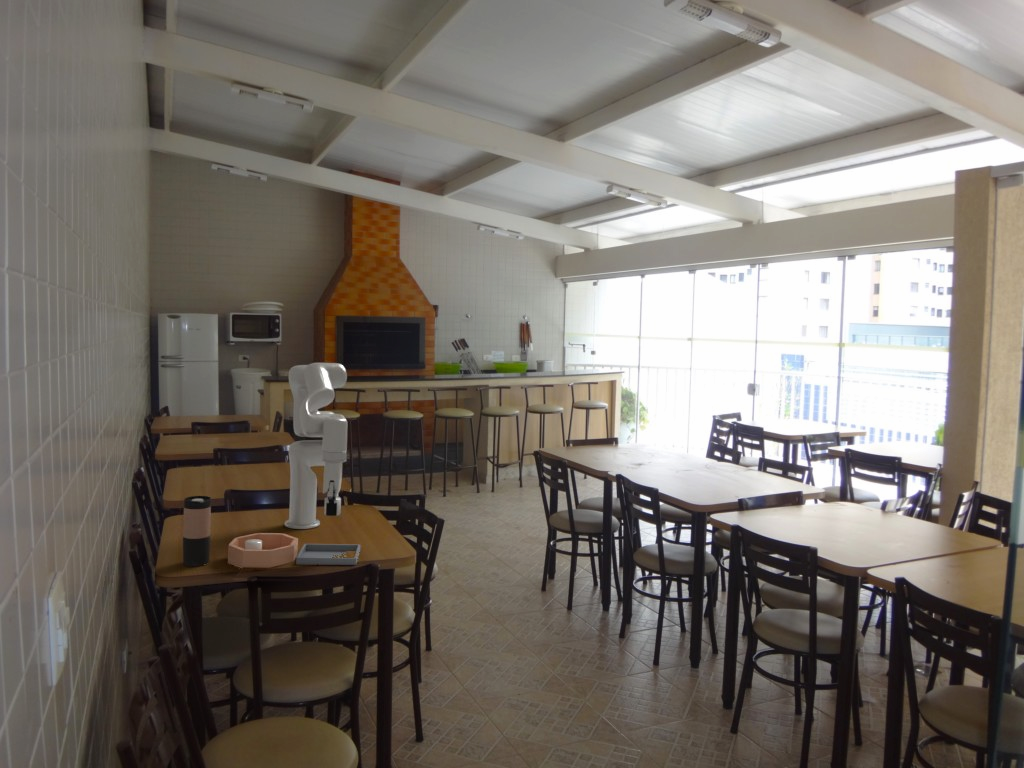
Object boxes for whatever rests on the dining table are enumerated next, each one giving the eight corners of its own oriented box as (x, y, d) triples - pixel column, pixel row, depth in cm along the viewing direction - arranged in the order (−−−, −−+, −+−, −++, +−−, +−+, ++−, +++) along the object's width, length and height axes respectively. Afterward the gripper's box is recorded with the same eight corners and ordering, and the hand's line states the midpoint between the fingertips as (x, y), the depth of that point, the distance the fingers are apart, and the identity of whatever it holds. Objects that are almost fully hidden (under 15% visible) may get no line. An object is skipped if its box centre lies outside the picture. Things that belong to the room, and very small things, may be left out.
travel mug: (187, 559, 222) (189, 495, 221) (213, 559, 223) (214, 496, 222) (178, 566, 215) (179, 500, 214) (204, 567, 215) (206, 501, 214)
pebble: (325, 511, 230) (325, 496, 230) (341, 512, 231) (341, 496, 230) (323, 515, 225) (323, 500, 225) (339, 516, 226) (340, 500, 225)
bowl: (239, 550, 234) (239, 532, 233) (300, 551, 236) (301, 533, 236) (222, 569, 214) (223, 550, 214) (289, 570, 217) (290, 551, 216)
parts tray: (304, 552, 235) (304, 543, 235) (360, 552, 237) (360, 544, 237) (296, 566, 220) (296, 557, 220) (355, 567, 222) (356, 558, 222)
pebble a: (246, 554, 227) (247, 539, 227) (263, 554, 228) (263, 539, 227) (242, 559, 222) (243, 543, 222) (259, 559, 223) (260, 543, 222)
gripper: (325, 451, 234) (323, 506, 236) (318, 460, 218) (316, 520, 219) (348, 452, 236) (346, 506, 237) (344, 461, 219) (341, 520, 220)
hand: (332, 512), depth 228 cm, fingers closed on pebble, 4 cm apart
